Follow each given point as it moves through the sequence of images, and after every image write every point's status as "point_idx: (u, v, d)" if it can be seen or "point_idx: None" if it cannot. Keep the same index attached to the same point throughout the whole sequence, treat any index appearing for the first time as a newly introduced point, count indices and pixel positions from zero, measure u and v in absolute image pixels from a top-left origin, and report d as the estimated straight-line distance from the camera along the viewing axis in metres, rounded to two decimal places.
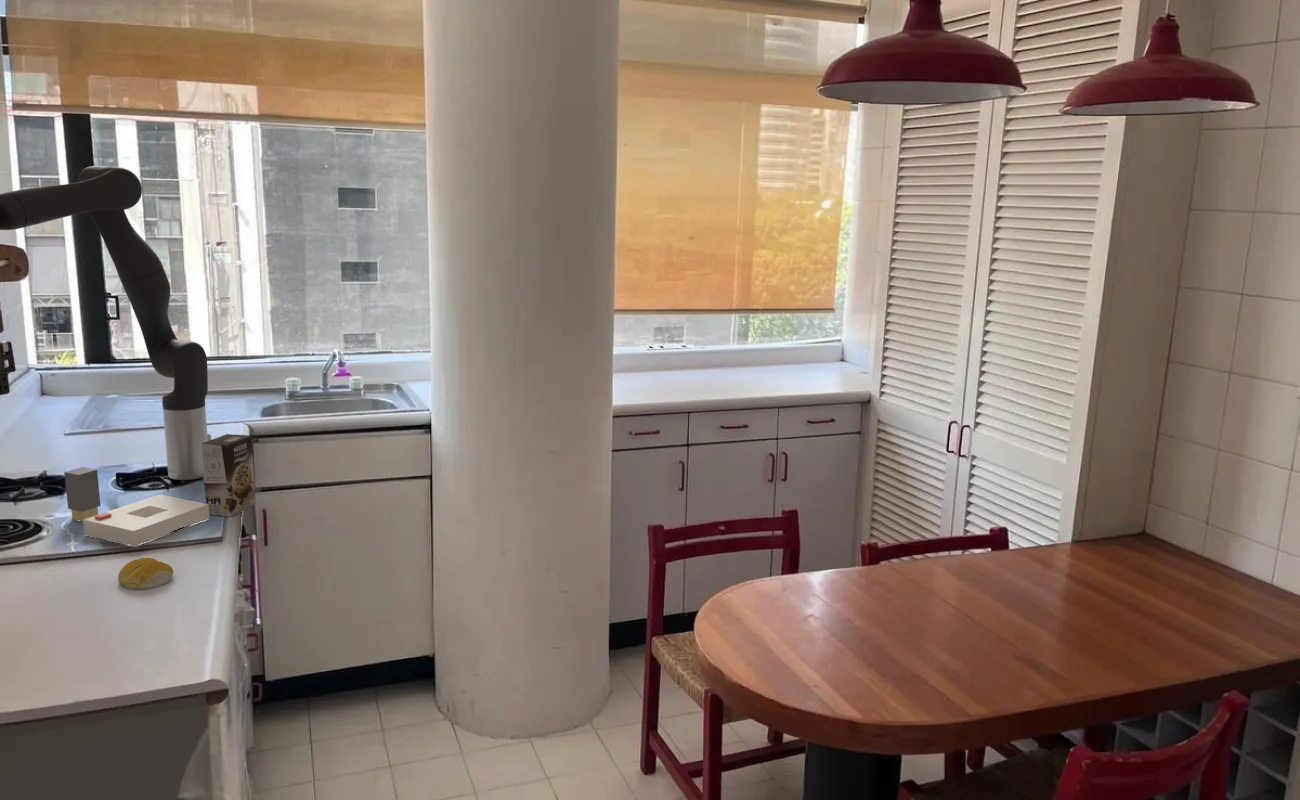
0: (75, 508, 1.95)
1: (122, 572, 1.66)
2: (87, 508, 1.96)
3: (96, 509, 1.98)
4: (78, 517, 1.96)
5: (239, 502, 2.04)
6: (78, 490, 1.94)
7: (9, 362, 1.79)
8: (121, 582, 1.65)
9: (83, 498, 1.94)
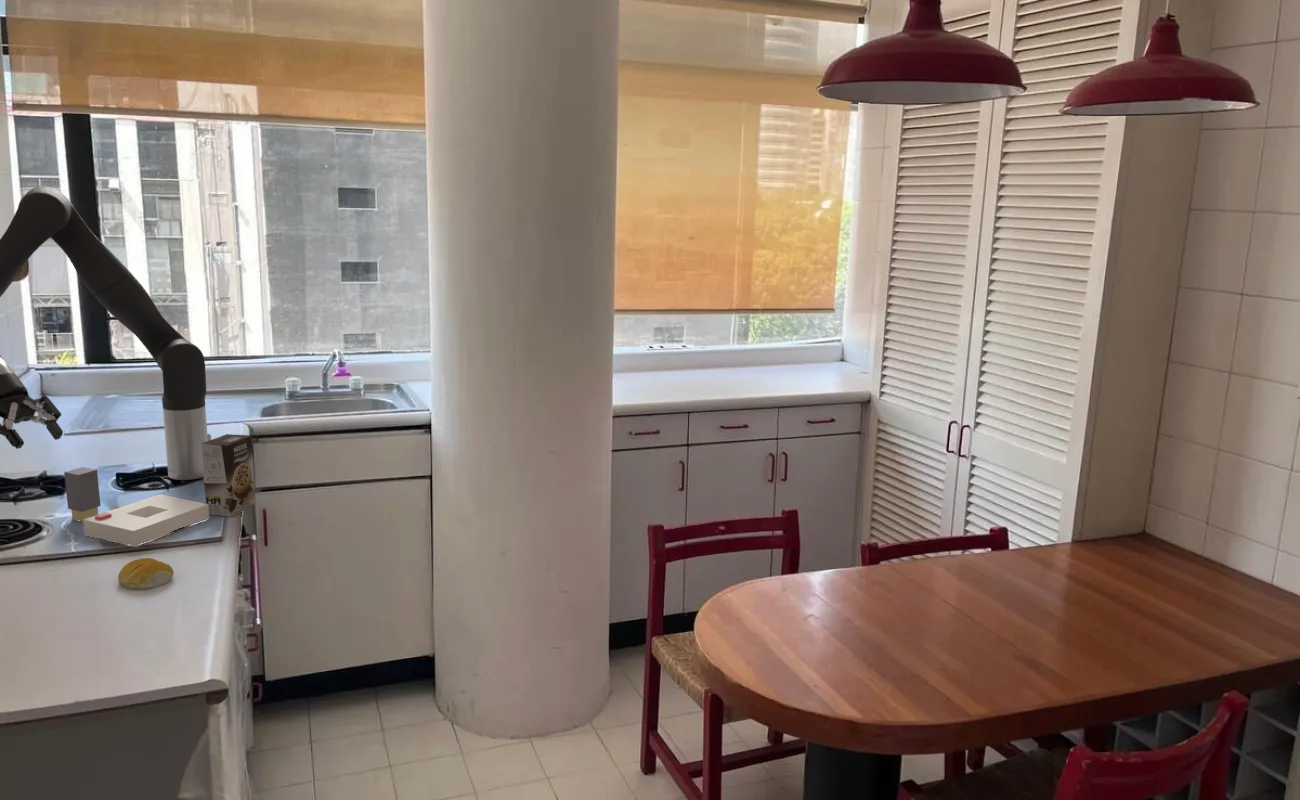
0: (75, 508, 1.95)
1: (122, 572, 1.66)
2: (87, 508, 1.96)
3: (96, 509, 1.98)
4: (78, 517, 1.96)
5: (239, 502, 2.04)
6: (78, 490, 1.94)
7: None
8: (121, 582, 1.65)
9: (83, 498, 1.94)
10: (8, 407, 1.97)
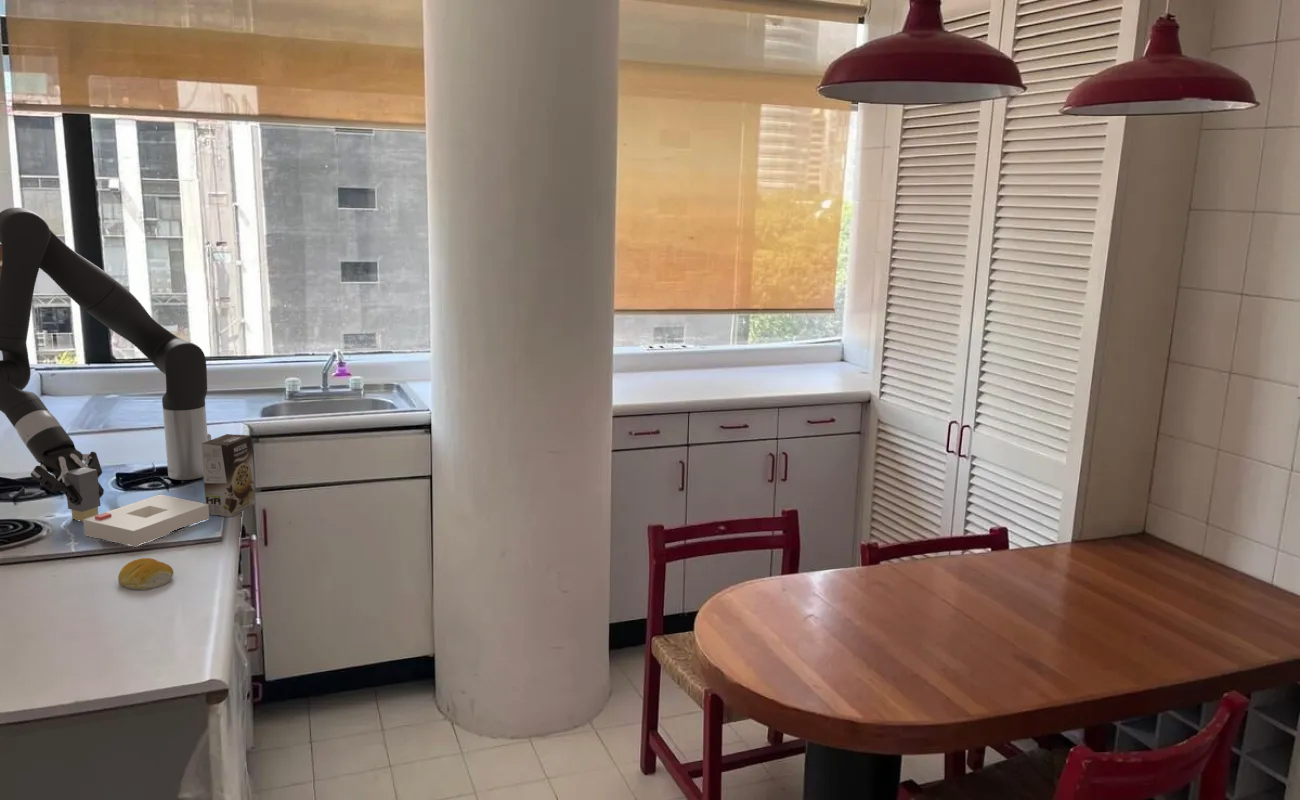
0: (75, 508, 1.95)
1: (122, 572, 1.66)
2: (87, 508, 1.96)
3: (96, 509, 1.98)
4: (78, 517, 1.96)
5: (239, 502, 2.04)
6: (78, 490, 1.94)
7: None
8: (121, 582, 1.65)
9: (83, 498, 1.94)
10: (56, 463, 1.95)
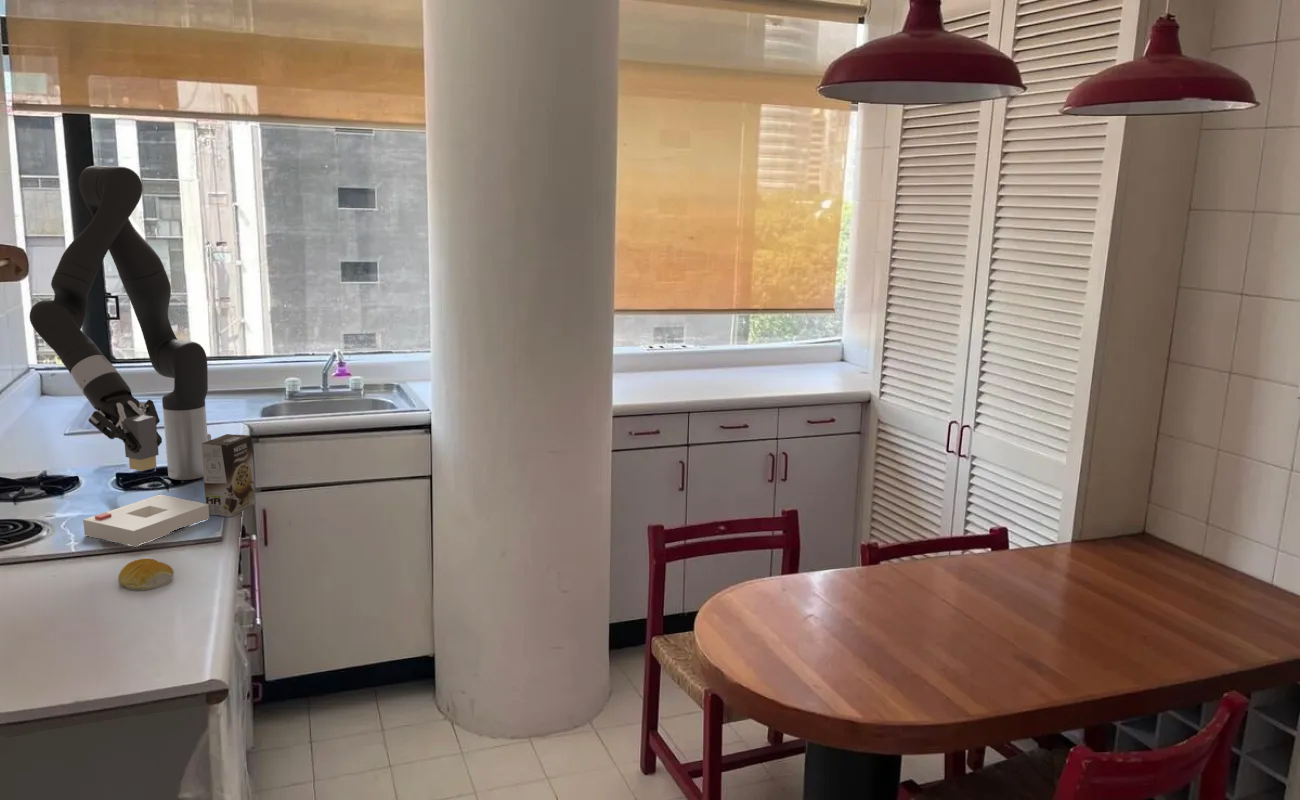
0: (133, 456, 1.88)
1: (122, 573, 1.66)
2: (145, 456, 1.89)
3: (154, 458, 1.91)
4: (136, 466, 1.89)
5: (239, 502, 2.04)
6: (137, 437, 1.87)
7: None
8: (121, 583, 1.64)
9: (142, 446, 1.88)
10: (114, 409, 1.88)
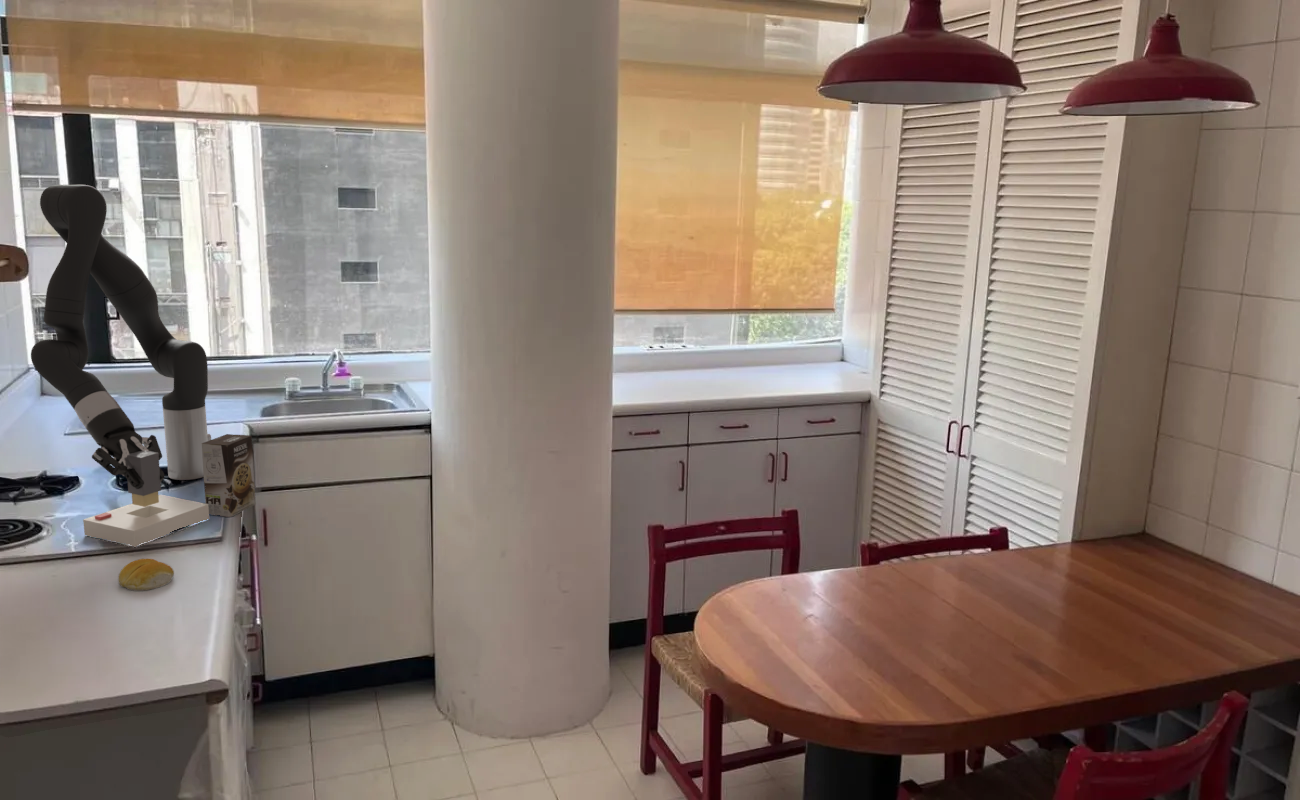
0: (136, 492, 1.90)
1: (122, 573, 1.65)
2: (148, 492, 1.90)
3: (156, 493, 1.93)
4: (139, 501, 1.91)
5: (239, 502, 2.04)
6: (140, 473, 1.88)
7: None
8: (121, 583, 1.64)
9: (144, 482, 1.89)
10: (117, 445, 1.89)
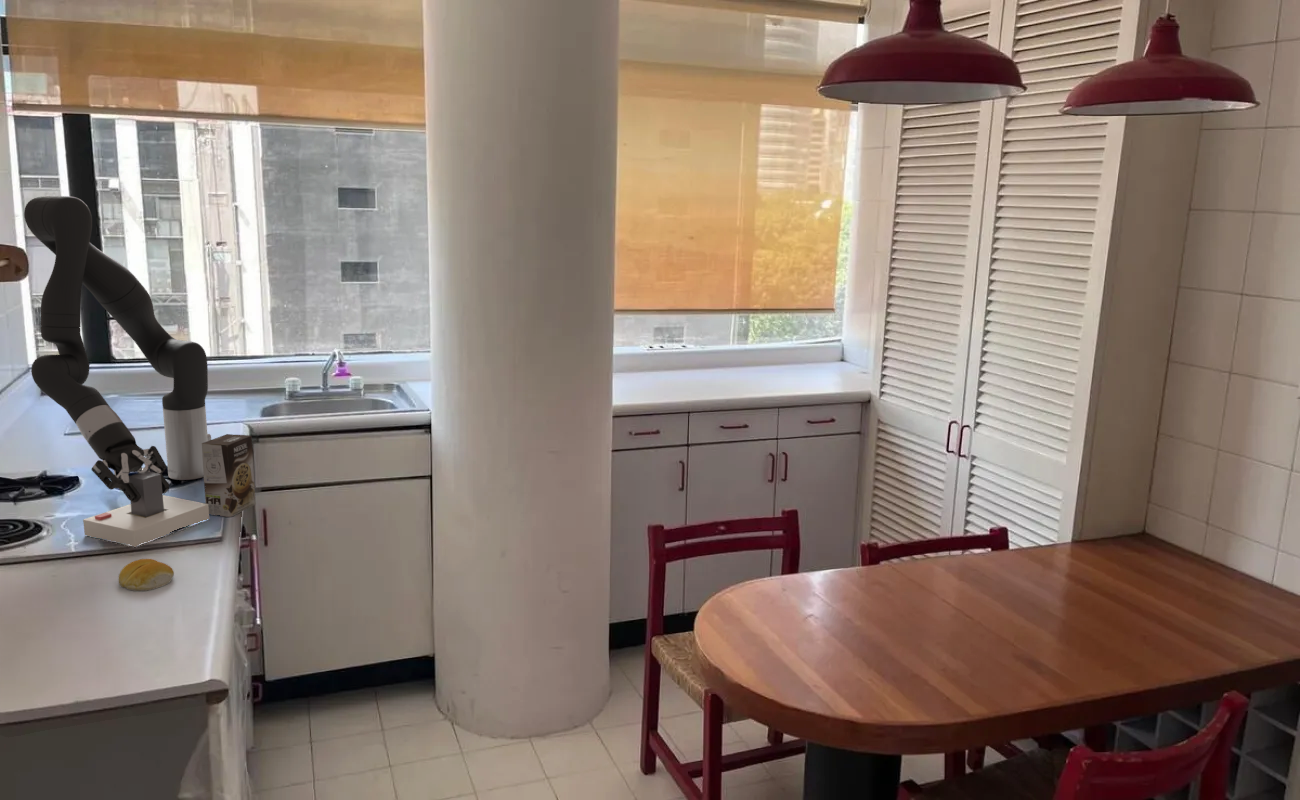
0: (139, 513, 1.91)
1: (122, 573, 1.65)
2: (151, 513, 1.91)
3: None
4: None
5: (239, 502, 2.04)
6: (142, 495, 1.90)
7: None
8: (121, 583, 1.64)
9: (147, 503, 1.90)
10: (118, 459, 1.90)
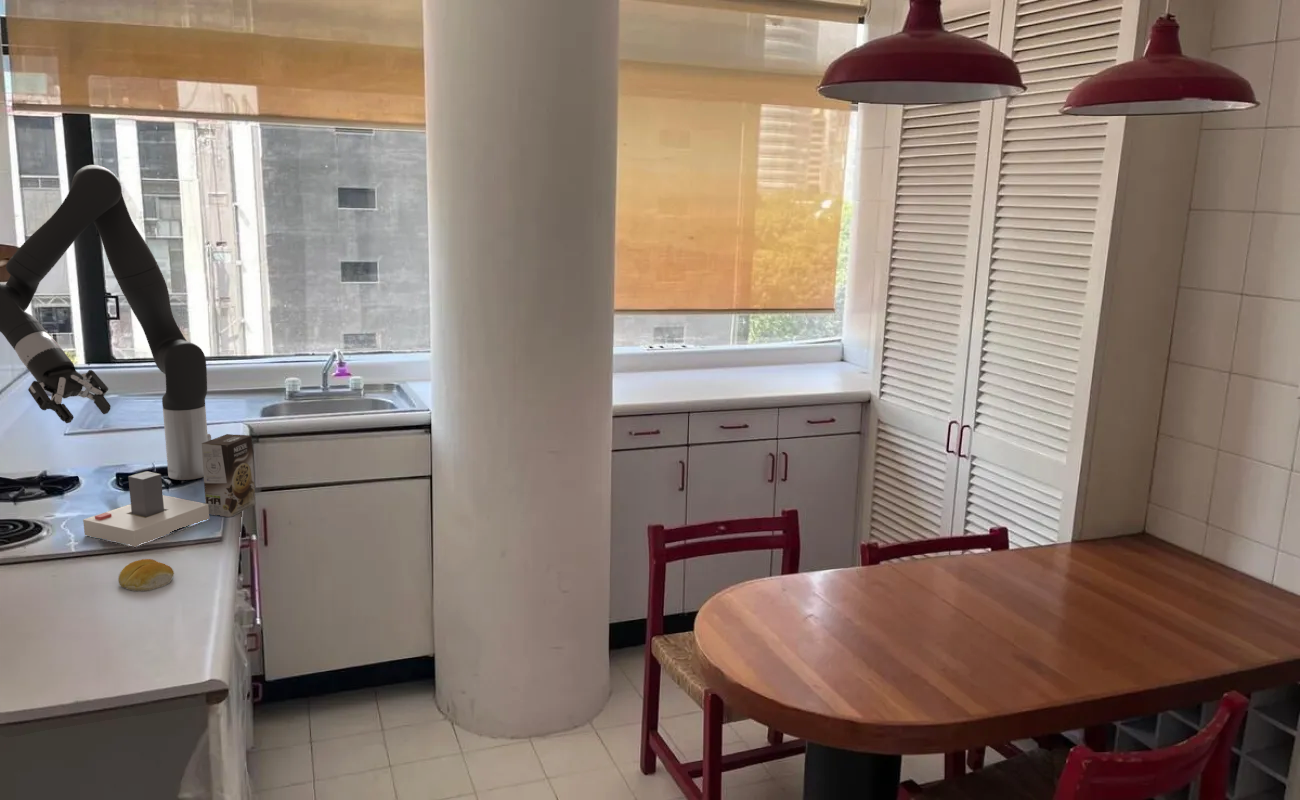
0: (139, 513, 1.91)
1: (122, 573, 1.65)
2: (151, 513, 1.91)
3: None
4: None
5: (239, 502, 2.04)
6: (142, 495, 1.90)
7: None
8: (121, 583, 1.64)
9: (147, 503, 1.90)
10: (56, 382, 1.96)
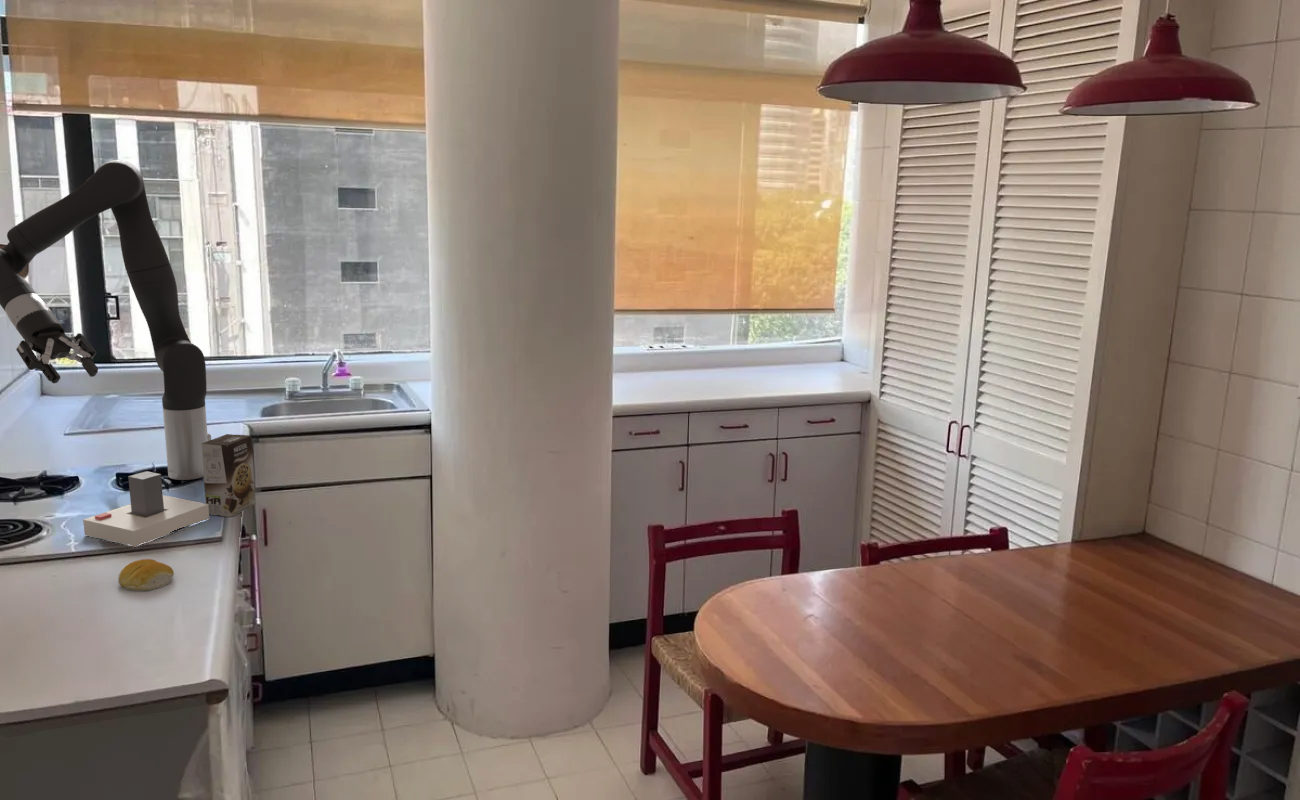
0: (139, 513, 1.91)
1: (122, 573, 1.65)
2: (151, 513, 1.91)
3: None
4: None
5: (239, 502, 2.04)
6: (142, 495, 1.90)
7: None
8: (121, 583, 1.64)
9: (147, 503, 1.90)
10: (44, 343, 1.98)
